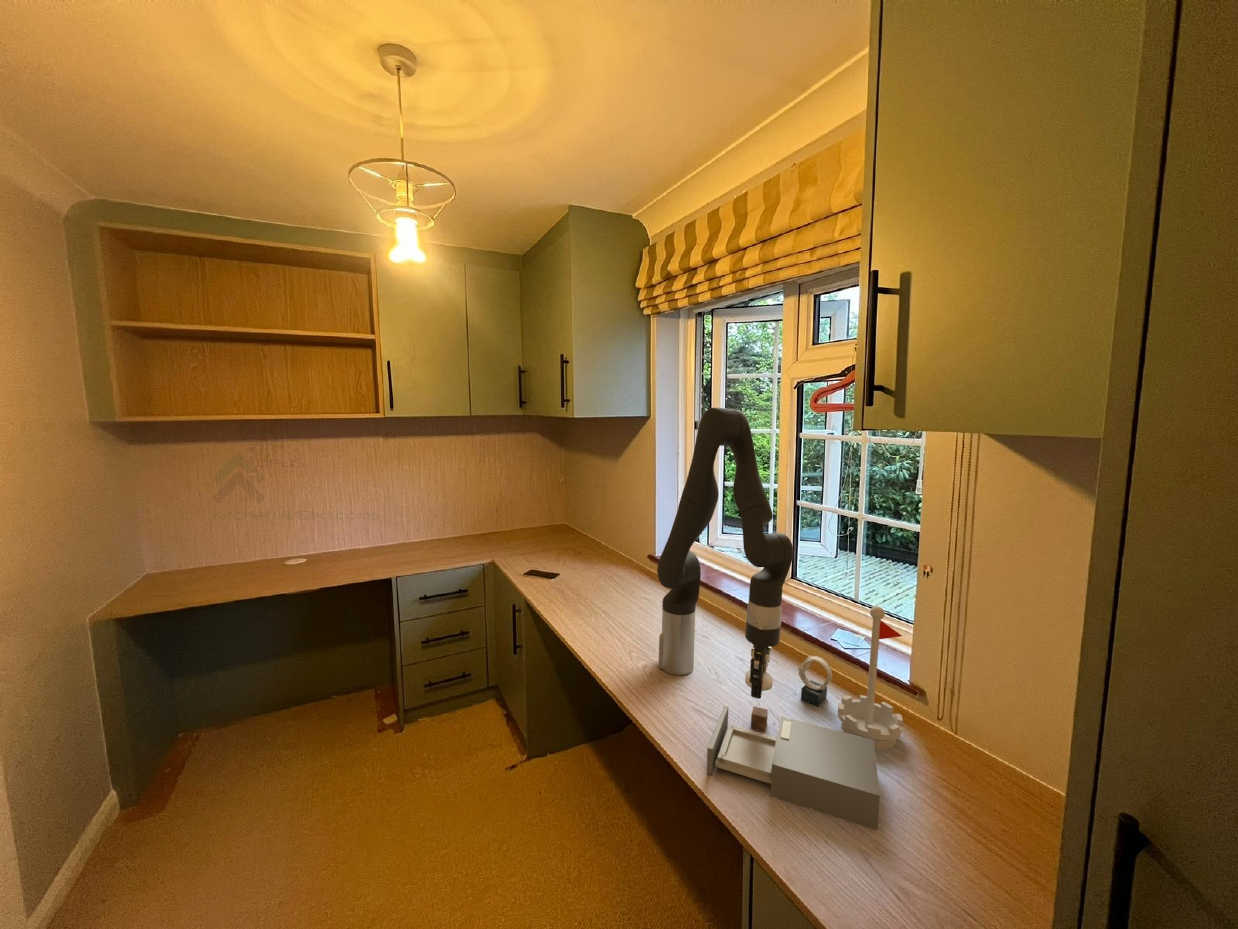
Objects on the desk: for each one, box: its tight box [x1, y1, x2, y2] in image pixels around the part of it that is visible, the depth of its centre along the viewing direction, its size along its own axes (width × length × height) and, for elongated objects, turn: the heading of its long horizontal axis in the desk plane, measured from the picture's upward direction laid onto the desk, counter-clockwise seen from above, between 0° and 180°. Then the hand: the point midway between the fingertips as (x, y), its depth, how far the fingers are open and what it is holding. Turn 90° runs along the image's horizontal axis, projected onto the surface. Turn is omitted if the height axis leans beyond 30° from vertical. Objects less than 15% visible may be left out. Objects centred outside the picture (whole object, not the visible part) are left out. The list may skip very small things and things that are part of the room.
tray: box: [706, 705, 777, 785], centre depth 101 cm, size 18×16×6 cm
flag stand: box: [837, 605, 904, 751], centre depth 110 cm, size 13×13×30 cm
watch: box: [797, 655, 833, 708], centre depth 124 cm, size 6×8×11 cm
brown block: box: [750, 706, 769, 733], centre depth 113 cm, size 3×3×4 cm
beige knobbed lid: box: [744, 670, 774, 692], centre depth 112 cm, size 6×6×2 cm
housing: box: [769, 715, 881, 830], centre depth 96 cm, size 18×16×7 cm
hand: (758, 689), depth 113 cm, fingers closed on beige knobbed lid, 6 cm apart
